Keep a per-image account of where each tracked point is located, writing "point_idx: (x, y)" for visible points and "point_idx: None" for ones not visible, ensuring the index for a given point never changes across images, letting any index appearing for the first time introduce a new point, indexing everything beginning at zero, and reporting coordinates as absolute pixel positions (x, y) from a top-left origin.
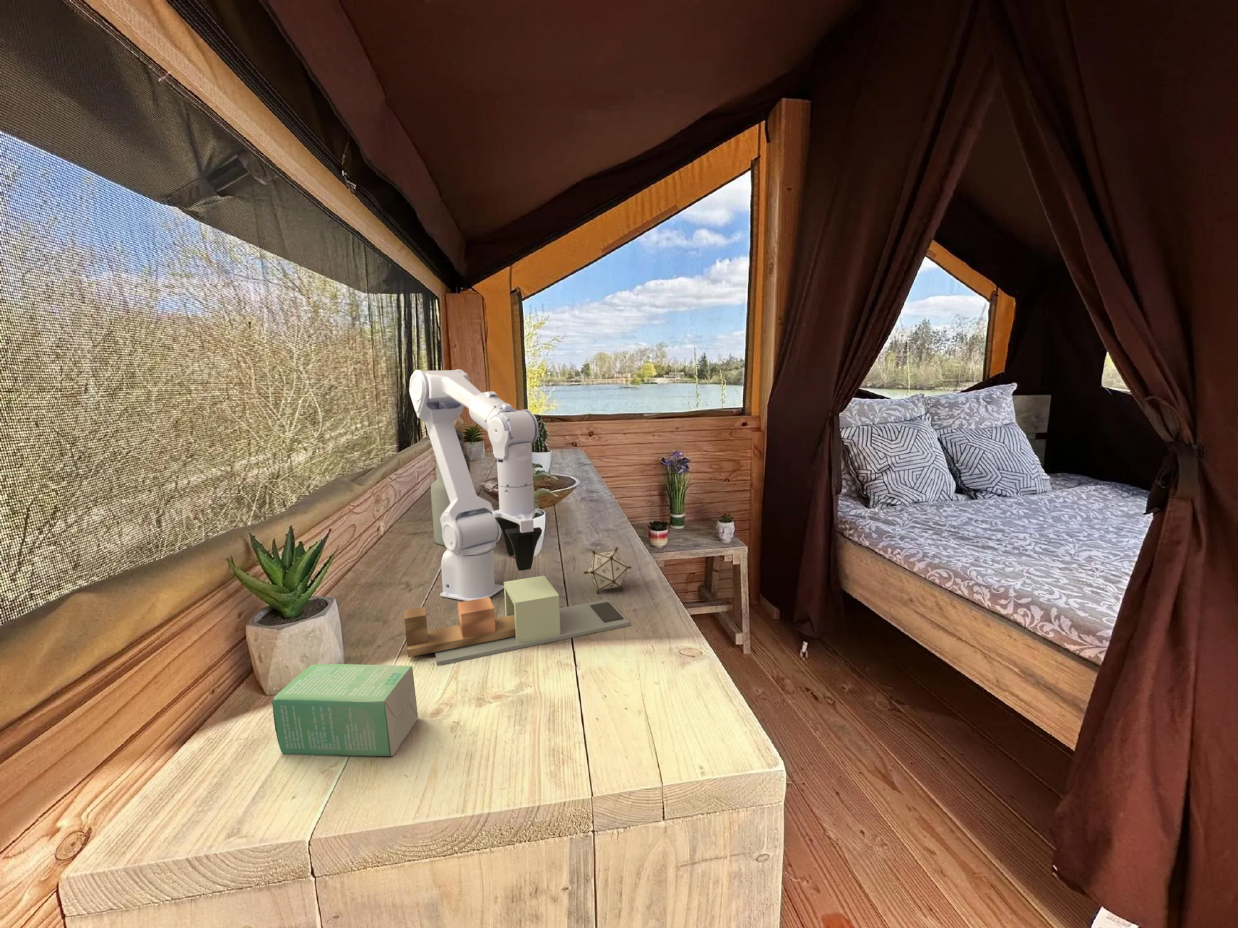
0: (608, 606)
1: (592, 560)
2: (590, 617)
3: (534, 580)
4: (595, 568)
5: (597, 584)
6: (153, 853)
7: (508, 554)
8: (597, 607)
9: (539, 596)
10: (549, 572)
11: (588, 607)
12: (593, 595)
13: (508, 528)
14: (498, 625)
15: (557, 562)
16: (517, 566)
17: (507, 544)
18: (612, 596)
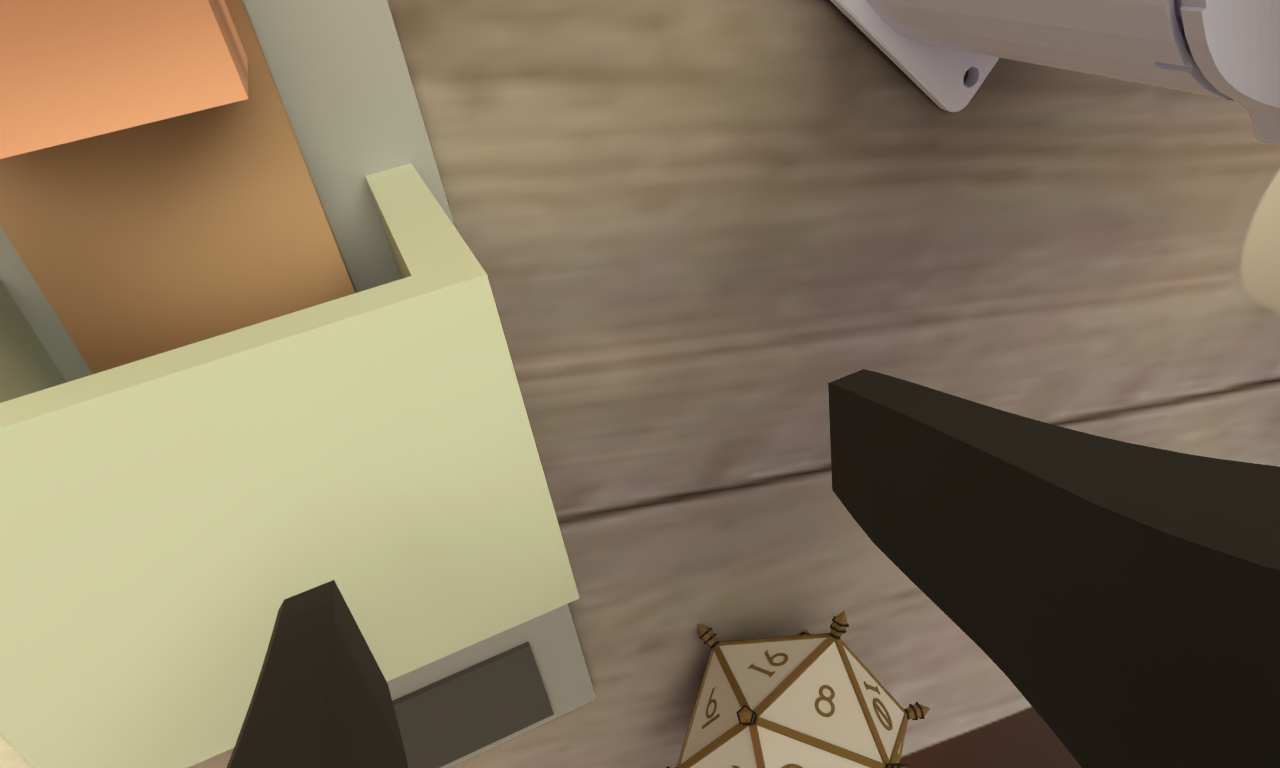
0: (495, 726)
1: (856, 726)
2: None
3: (474, 551)
4: (767, 743)
5: (721, 668)
6: None
7: (852, 380)
8: (494, 682)
9: (28, 682)
10: (1033, 365)
11: (514, 635)
12: (686, 612)
13: (1148, 627)
14: (116, 143)
15: (1124, 391)
16: (273, 637)
17: (937, 448)
18: (651, 691)
